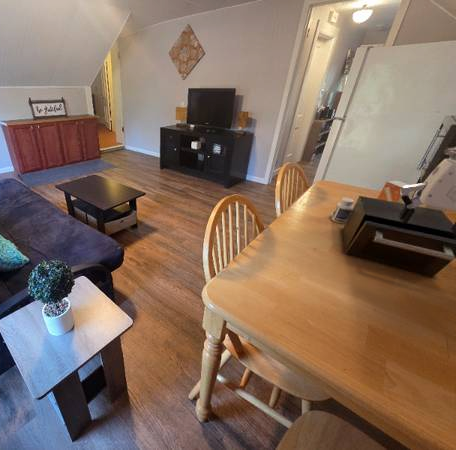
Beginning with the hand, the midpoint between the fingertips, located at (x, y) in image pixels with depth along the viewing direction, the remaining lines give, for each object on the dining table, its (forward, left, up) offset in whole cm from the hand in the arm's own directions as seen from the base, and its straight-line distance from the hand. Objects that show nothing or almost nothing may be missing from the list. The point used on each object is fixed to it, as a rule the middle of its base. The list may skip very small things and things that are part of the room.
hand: (427, 226), depth 60 cm
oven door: (-2, -11, -21) cm, 24 cm away
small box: (-9, -59, -21) cm, 63 cm away
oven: (-2, -22, -21) cm, 30 cm away
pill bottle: (+10, -38, -21) cm, 44 cm away
